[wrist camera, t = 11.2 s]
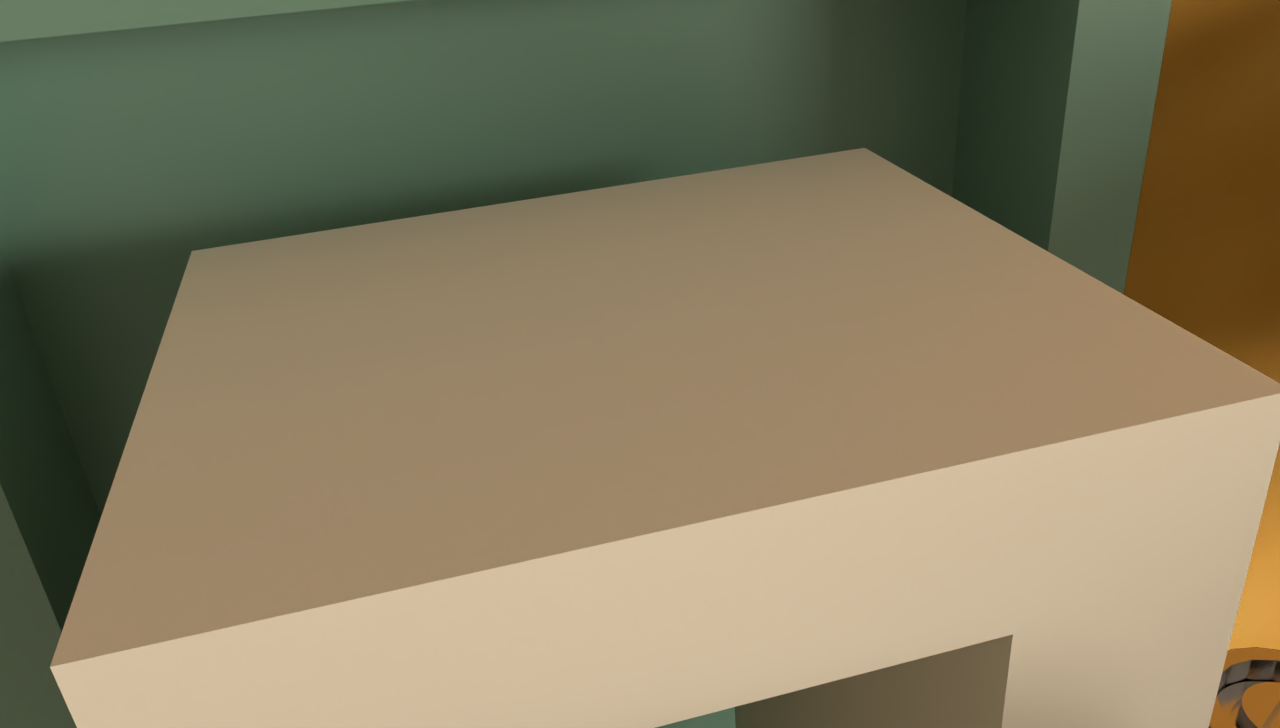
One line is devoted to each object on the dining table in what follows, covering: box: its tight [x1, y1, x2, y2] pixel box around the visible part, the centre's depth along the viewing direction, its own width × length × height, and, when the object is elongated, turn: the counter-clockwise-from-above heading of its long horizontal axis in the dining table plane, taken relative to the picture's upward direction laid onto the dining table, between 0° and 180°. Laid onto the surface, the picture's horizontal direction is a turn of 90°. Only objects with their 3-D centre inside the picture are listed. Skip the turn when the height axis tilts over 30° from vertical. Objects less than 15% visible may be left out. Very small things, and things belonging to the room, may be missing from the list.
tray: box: [0, 0, 1172, 728], centre depth 12 cm, size 14×12×2 cm
